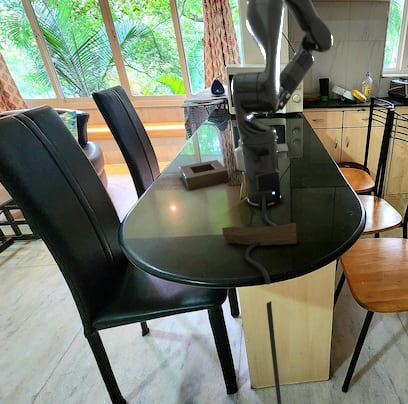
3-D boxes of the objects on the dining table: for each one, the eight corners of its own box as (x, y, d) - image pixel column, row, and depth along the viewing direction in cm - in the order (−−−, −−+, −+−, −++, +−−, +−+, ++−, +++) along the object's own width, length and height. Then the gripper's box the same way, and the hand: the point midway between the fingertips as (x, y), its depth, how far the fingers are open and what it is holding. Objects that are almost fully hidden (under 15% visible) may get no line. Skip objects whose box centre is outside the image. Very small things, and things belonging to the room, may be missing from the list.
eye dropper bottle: (238, 167, 107) (234, 135, 101) (253, 166, 107) (249, 134, 101) (236, 171, 103) (232, 138, 97) (252, 170, 103) (248, 137, 97)
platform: (288, 150, 123) (287, 135, 120) (247, 153, 122) (245, 138, 119) (286, 143, 134) (286, 129, 131) (248, 146, 132) (246, 132, 129)
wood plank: (296, 240, 63) (295, 220, 60) (296, 245, 61) (295, 225, 58) (227, 242, 63) (223, 223, 60) (225, 248, 61) (221, 228, 58)
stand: (229, 181, 94) (227, 170, 93) (188, 190, 89) (186, 178, 87) (218, 170, 105) (217, 159, 103) (182, 177, 99) (179, 166, 97)
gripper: (274, 70, 103) (248, 106, 103) (292, 70, 92) (263, 111, 92) (288, 85, 108) (262, 119, 108) (307, 87, 96) (279, 125, 97)
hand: (263, 115), depth 100 cm, fingers open, 8 cm apart
